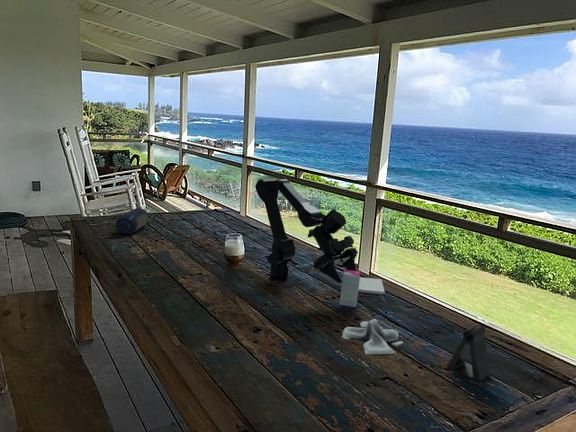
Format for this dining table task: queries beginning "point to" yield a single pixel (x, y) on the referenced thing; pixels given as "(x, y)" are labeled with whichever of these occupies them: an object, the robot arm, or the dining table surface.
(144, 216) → the portable speaker
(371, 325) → the cloth
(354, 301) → the supplement box
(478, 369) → the phone stand
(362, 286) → the mat
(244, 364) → the dining table surface
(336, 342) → the dining table surface
